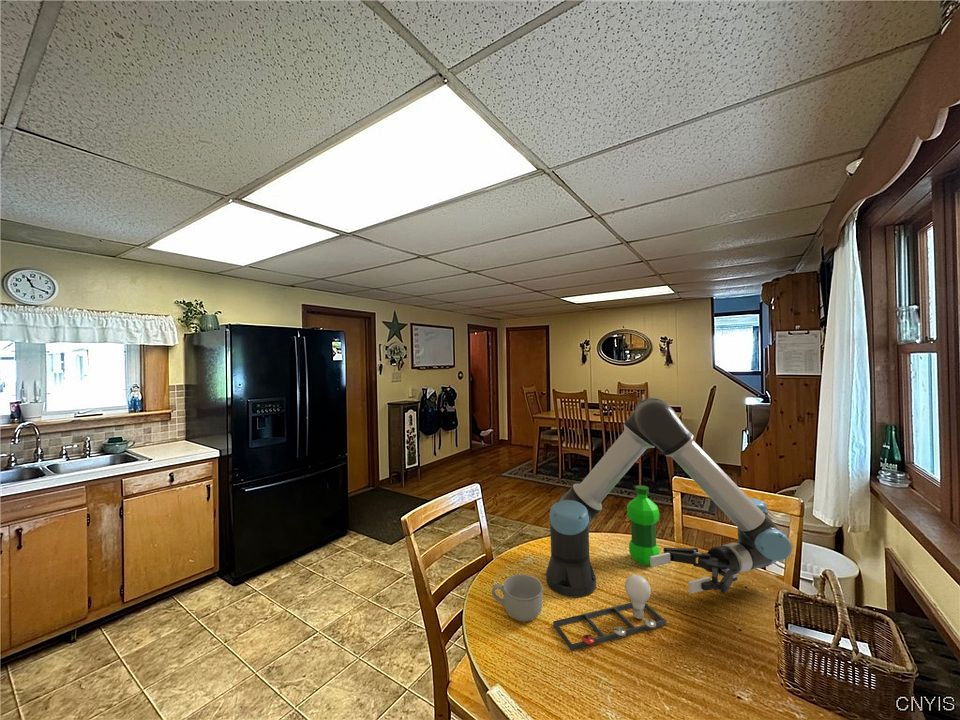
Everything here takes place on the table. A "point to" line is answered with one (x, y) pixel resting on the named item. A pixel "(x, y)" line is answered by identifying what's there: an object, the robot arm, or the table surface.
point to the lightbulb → (638, 594)
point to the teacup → (520, 596)
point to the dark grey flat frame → (619, 631)
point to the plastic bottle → (643, 526)
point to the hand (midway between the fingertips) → (669, 573)
